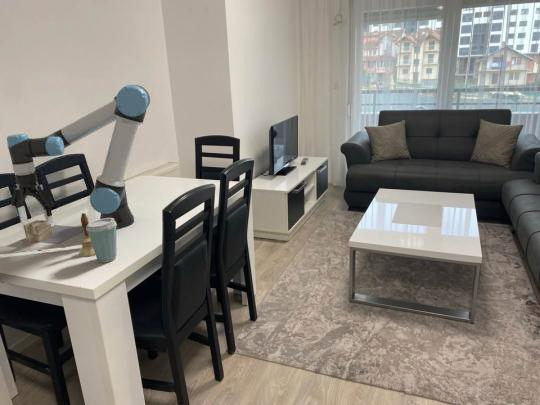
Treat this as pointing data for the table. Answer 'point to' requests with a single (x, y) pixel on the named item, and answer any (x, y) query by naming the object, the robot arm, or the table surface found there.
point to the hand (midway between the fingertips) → (36, 222)
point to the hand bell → (86, 239)
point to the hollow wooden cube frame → (38, 231)
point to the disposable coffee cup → (103, 238)
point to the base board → (62, 234)
